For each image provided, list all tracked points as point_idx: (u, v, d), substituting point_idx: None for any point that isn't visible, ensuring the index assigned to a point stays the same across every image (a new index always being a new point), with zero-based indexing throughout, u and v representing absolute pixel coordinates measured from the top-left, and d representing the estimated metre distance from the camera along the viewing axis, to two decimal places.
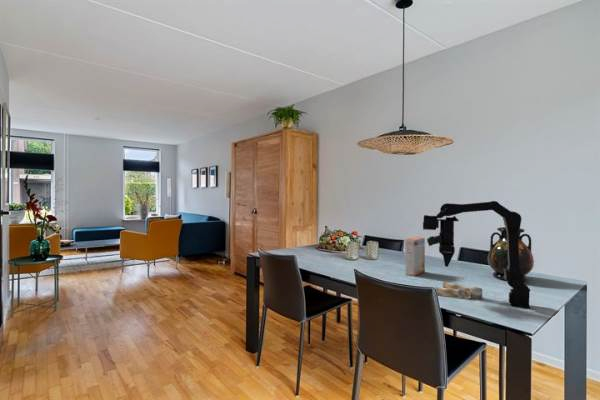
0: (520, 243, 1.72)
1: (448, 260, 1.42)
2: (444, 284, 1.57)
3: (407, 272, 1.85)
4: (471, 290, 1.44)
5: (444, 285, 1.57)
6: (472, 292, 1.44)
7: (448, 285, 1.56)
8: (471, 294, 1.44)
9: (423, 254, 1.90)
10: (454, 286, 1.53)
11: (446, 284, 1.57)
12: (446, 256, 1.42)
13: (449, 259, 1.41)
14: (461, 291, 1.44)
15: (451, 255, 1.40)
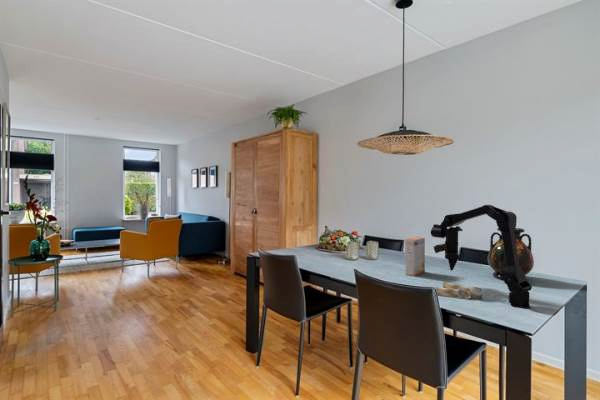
0: (520, 243, 1.72)
1: (453, 264, 1.60)
2: (444, 284, 1.57)
3: (407, 272, 1.85)
4: (471, 290, 1.44)
5: (444, 285, 1.57)
6: (472, 292, 1.44)
7: (448, 285, 1.56)
8: (471, 294, 1.44)
9: (423, 254, 1.90)
10: (454, 286, 1.53)
11: (446, 284, 1.57)
12: (451, 261, 1.60)
13: (454, 264, 1.60)
14: (461, 291, 1.44)
15: (455, 260, 1.59)
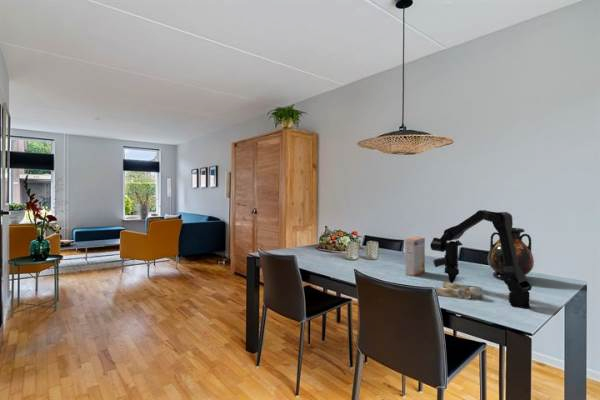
0: (520, 243, 1.72)
1: (453, 279, 1.60)
2: (444, 284, 1.57)
3: (407, 272, 1.85)
4: (471, 290, 1.44)
5: (444, 285, 1.57)
6: (472, 292, 1.44)
7: (448, 285, 1.56)
8: (471, 294, 1.44)
9: (423, 254, 1.90)
10: (454, 286, 1.53)
11: (446, 284, 1.57)
12: (451, 275, 1.60)
13: (453, 278, 1.60)
14: (461, 291, 1.44)
15: (455, 274, 1.59)
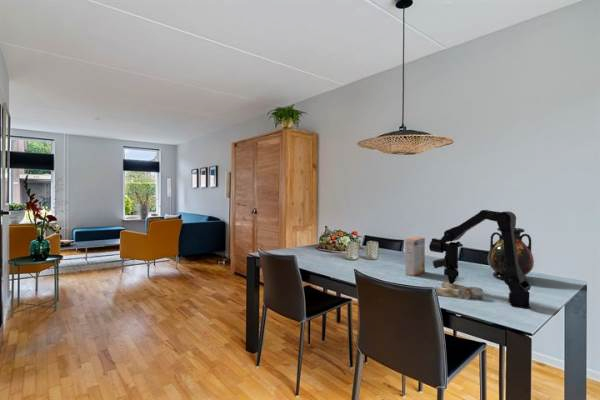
0: (520, 243, 1.72)
1: (452, 280, 1.57)
2: (443, 284, 1.57)
3: (407, 272, 1.85)
4: (471, 290, 1.44)
5: (443, 285, 1.57)
6: (472, 292, 1.44)
7: (447, 285, 1.55)
8: (471, 294, 1.44)
9: (423, 254, 1.90)
10: (454, 286, 1.53)
11: (445, 284, 1.56)
12: (450, 277, 1.57)
13: (453, 279, 1.56)
14: (461, 291, 1.44)
15: (455, 276, 1.55)
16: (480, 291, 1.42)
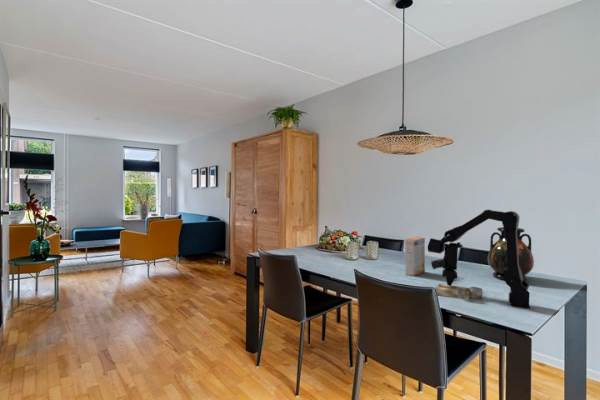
0: (520, 243, 1.72)
1: (450, 282, 1.53)
2: (439, 286, 1.53)
3: (407, 272, 1.85)
4: (473, 291, 1.43)
5: None
6: (474, 293, 1.43)
7: (444, 287, 1.52)
8: (473, 295, 1.43)
9: (423, 254, 1.90)
10: (451, 288, 1.51)
11: (442, 286, 1.53)
12: (449, 278, 1.53)
13: (451, 281, 1.53)
14: (461, 291, 1.44)
15: (453, 277, 1.52)
16: (481, 291, 1.43)
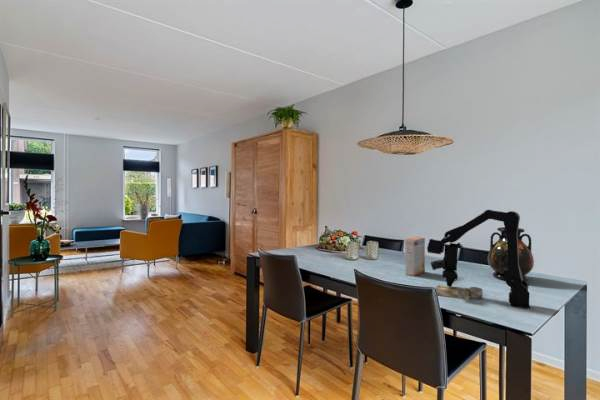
0: (520, 243, 1.72)
1: (450, 283, 1.51)
2: None
3: (407, 272, 1.85)
4: (474, 291, 1.43)
5: None
6: (475, 293, 1.43)
7: None
8: (474, 295, 1.43)
9: (423, 254, 1.90)
10: None
11: (441, 287, 1.51)
12: (448, 279, 1.51)
13: (451, 282, 1.51)
14: (461, 291, 1.44)
15: (453, 278, 1.50)
16: None
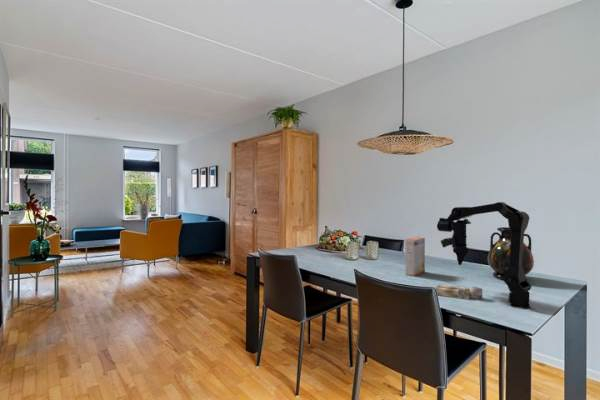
0: None
1: (461, 259, 1.54)
2: None
3: (407, 272, 1.85)
4: (474, 291, 1.43)
5: None
6: (475, 293, 1.43)
7: None
8: (474, 295, 1.43)
9: (423, 254, 1.90)
10: None
11: (441, 287, 1.51)
12: (459, 255, 1.55)
13: (462, 258, 1.54)
14: (461, 291, 1.44)
15: (464, 254, 1.53)
16: None
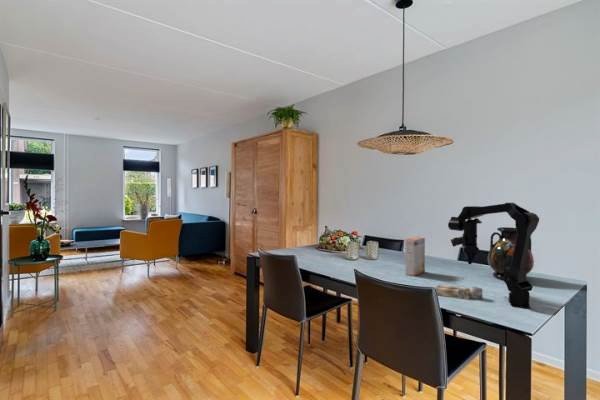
0: None
1: (471, 258, 1.54)
2: None
3: (407, 272, 1.85)
4: (474, 291, 1.43)
5: None
6: (475, 293, 1.43)
7: None
8: (474, 295, 1.43)
9: (423, 254, 1.90)
10: None
11: (441, 287, 1.51)
12: (469, 254, 1.54)
13: (472, 257, 1.54)
14: (461, 291, 1.44)
15: (474, 253, 1.53)
16: None
